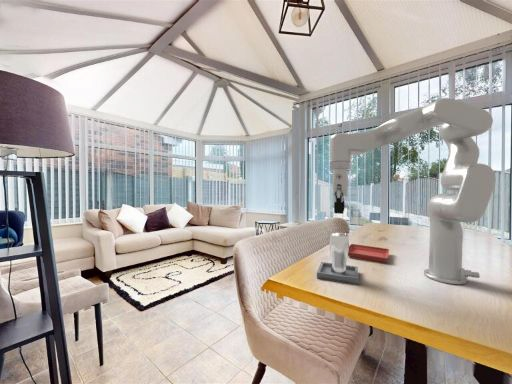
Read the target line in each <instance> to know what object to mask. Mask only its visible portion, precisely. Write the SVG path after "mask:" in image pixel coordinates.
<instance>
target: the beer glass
mask: <svg viewBox="0 0 512 384" xmlns="http://www.w3.org/2000/svg"><path fill="white" fill-rule="evenodd" d="M349 246H350V238H349V234H348V233H345V232H331V233H330V237H329V251H330V260H331V263H332V267H331V273H332V274H337V275H344V276H346V275H347V268H346V265H347V262H348V257H349V256H348V253H349Z"/></svg>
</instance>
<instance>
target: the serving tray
mask: <svg viewBox="0 0 512 384" xmlns="http://www.w3.org/2000/svg"><path fill="white" fill-rule="evenodd" d="M331 267H332V262H325V261H320V264H319V266H318V269H317V272H316V279H319V280H324V281H325V280H326V281H331V282H337V283H342V284H343V283H345V284H348V285H349V284H350V285H355V286H356V285H357V286H359V268H358V266H356V265H355V266H354V265H348V264H346V268H347V275H346V276H344V275H337V274H332V273H331Z"/></svg>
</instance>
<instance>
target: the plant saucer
mask: <svg viewBox="0 0 512 384" xmlns="http://www.w3.org/2000/svg"><path fill="white" fill-rule="evenodd" d="M389 254H390V249H389V248H385V247H378V246H377V247H376V246H371V245H364V244H363V245H362V244H355V243H350V244H349V253H348V257H349V258H352V259H357V260H358V259H359V260H365V261H370V262H371V261H372V262H377V263H385V262H386V261H387V260H388V258H389Z"/></svg>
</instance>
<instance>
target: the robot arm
mask: <svg viewBox="0 0 512 384" xmlns="http://www.w3.org/2000/svg"><path fill="white" fill-rule="evenodd" d="M493 122H494V119H493V116H492V114H491V113H490V112H489V111H488V110H486V109H485V108H482V107H479V106H475V105H472V104H470V103H468V102H464V101H461V100H457V99H454V98H450V97H442V98H439V99H436V100H435V101H432V102H430V103H428V104H427V105H424V106H422V107H420V108H417V109H414V110H412V111H409V112H408V113H407V112H406V113H405V114H402V115H399V116H396V117H394V118H392V119H389V120H388V121H385V122H384V123H382V124H381V125H378V126H377V127H375V128H373V129H370V130H368V131H360V132H355V133H354V132H353V133H347V132H340V133H335V134H332V135H331V136H330V137H329V138H330V139H329V172H332V195H333V198H334V202H333V206H334V207H333V214H339V215H341V214H344V212H345V198H347V197H348V196H349V195H348V194H349V191H348V190H349V189H348V187H349V172H351V170H352V169H351V168H352V167H351V165H352V162H351V161H352V156H354V157H355V156H356V157H357V156H359V155H363V154H365V153H368V152H370V151H373V150H375V149H377V148H380V147H383V146H387V145H390V144H394V143H396V142H399V141H402V140H405V139H408V138H410V137H412V136H416V135H417V134H420V133H423V132H425V131H428V130H430V129H432V128H435V127H438V126H439V128H438V129H439V130H438V134H439V136H440V138H441V139H442V140H443V142H444V143H445V144H446V145H447V149H448V155H447V159H446V162H445V164H444V165H445V166H444V167H443V171H442V174H441V178H440V185H441V187H442V188H443V189H445V190H447V191H452V192H458V193H448V192H446V193H445V192H444V193H438V194H435V195H433V196H432V197H430V199H429V200H428V201H427V207H426V209H427V213H428V218H429V247H428V248H429V249H428V251H429V252H428V253H429V254H428V268H426V269H424V270H423V275H424V276H425V277H427V278H429V279H431V280H434V281H437V282H440V283H444V284H451V285H466V284H467V283H468V277H470V278H473V279H474V278H476V279H480V277H481V275H480V273H479V272H478V271H472V270H471V269H470V270H469V269H465V268H463V243H464V242H463V241H464V240H463V239H464V231H463V227H462V224H461V223H464V224H465V223H467V224H468V223H469V224H472V223H476V222H478V221H480V219H482V218H483V216H484V215H485V213H486V211H487V208H488V205H489V203H490V200H491V197H492V194H493V192H494V188H495V185H496V174H495V172H494V169H493V168H492V167H491V166H489V165H488V164H485V163H481V162H480V163H478V161H479V157H480V148H479V146H478V144H477V143H476V141H475V139H473V137H476V136H480V135H483V134H484V133H487V131H489V130H490V128H492V126H493Z"/></svg>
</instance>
